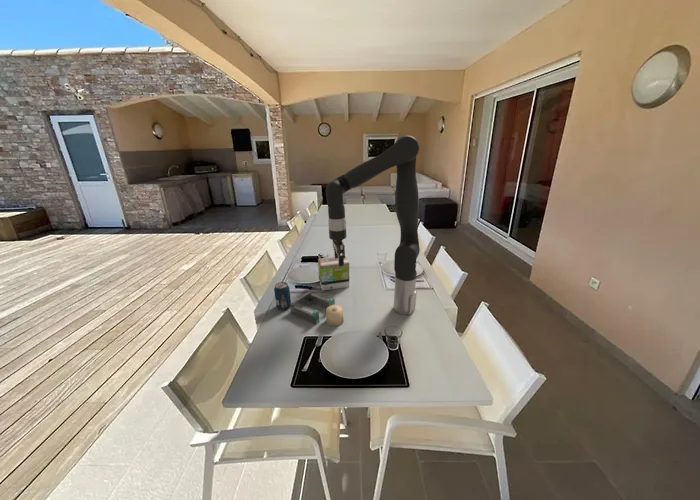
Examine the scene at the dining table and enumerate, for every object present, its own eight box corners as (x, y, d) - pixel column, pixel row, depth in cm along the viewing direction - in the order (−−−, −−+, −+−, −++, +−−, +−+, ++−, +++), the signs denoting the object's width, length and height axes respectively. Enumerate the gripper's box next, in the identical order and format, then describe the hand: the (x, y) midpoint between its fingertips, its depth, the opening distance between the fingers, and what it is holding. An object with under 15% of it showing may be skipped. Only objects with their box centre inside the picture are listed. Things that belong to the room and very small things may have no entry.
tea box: (322, 291, 149) (320, 266, 143) (319, 282, 158) (317, 258, 152) (350, 287, 153) (349, 262, 147) (345, 278, 162) (344, 254, 156)
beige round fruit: (346, 319, 127) (346, 308, 124) (336, 328, 121) (336, 316, 119) (333, 314, 131) (333, 302, 128) (323, 322, 125) (322, 310, 123)
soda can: (285, 301, 141) (282, 280, 136) (294, 306, 137) (292, 284, 132) (273, 307, 136) (270, 285, 131) (282, 313, 132) (280, 290, 127)
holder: (335, 309, 134) (334, 298, 131) (316, 324, 124) (315, 313, 121) (310, 299, 142) (309, 289, 140) (290, 313, 132) (289, 302, 130)
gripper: (350, 231, 117) (351, 267, 123) (342, 222, 130) (343, 254, 136) (332, 233, 115) (334, 269, 122) (325, 223, 128) (328, 256, 134)
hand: (339, 261), depth 129 cm, fingers open, 8 cm apart
